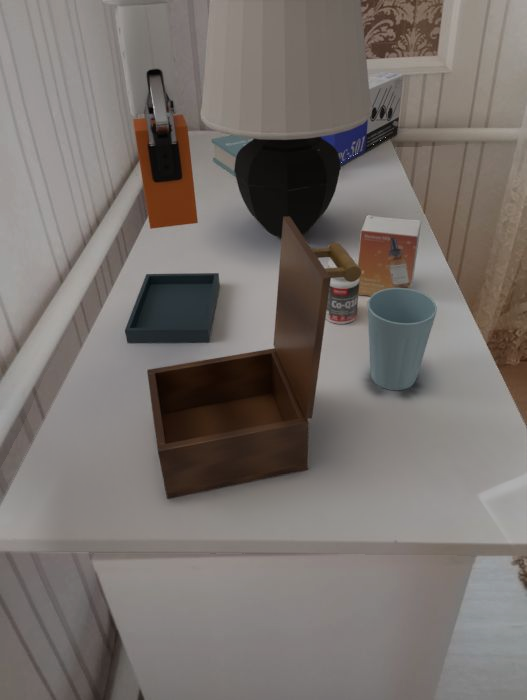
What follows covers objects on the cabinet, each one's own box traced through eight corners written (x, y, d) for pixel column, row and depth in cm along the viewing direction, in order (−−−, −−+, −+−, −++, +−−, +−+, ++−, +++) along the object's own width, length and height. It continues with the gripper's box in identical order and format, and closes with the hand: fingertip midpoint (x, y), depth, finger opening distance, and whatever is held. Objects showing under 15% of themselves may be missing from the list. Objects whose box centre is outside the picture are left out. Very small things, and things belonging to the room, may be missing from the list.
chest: (167, 499, 60) (157, 451, 55) (155, 415, 69) (146, 369, 65) (308, 469, 62) (308, 422, 58) (277, 393, 72) (276, 347, 68)
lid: (323, 278, 49) (381, 274, 50) (283, 216, 59) (332, 214, 60) (305, 419, 58) (355, 413, 59) (273, 345, 67) (316, 340, 69)
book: (213, 161, 138) (211, 139, 135) (274, 148, 144) (273, 126, 141) (259, 193, 122) (258, 168, 119) (325, 177, 128) (326, 153, 125)
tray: (209, 342, 81) (207, 329, 79) (127, 342, 81) (124, 330, 80) (219, 284, 93) (218, 272, 92) (148, 285, 93) (146, 273, 92)
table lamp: (203, 270, 97) (172, -19, 73) (218, 203, 118) (198, -37, 94) (372, 268, 95) (397, -28, 72) (356, 200, 117) (371, -44, 93)
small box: (354, 295, 89) (359, 230, 83) (361, 277, 93) (365, 213, 87) (409, 302, 87) (418, 236, 81) (413, 283, 91) (422, 219, 85)
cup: (351, 384, 73) (356, 312, 66) (375, 351, 78) (382, 281, 72) (411, 404, 69) (423, 330, 63) (432, 368, 75) (445, 297, 68)
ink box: (334, 171, 130) (337, 103, 122) (308, 165, 134) (309, 98, 125) (399, 134, 149) (405, 73, 141) (375, 130, 153) (380, 70, 144)
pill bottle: (330, 327, 83) (332, 274, 78) (318, 309, 86) (319, 257, 81) (362, 321, 83) (366, 268, 78) (349, 304, 87) (352, 252, 82)
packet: (150, 229, 69) (134, 131, 62) (147, 213, 72) (132, 119, 65) (197, 223, 69) (187, 125, 63) (193, 207, 73) (182, 114, 66)
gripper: (99, -23, 63) (129, 151, 73) (99, -5, 49) (135, 205, 60) (171, -28, 64) (189, 145, 75) (190, -11, 50) (209, 196, 61)
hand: (165, 170), depth 67 cm, fingers closed on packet, 4 cm apart
